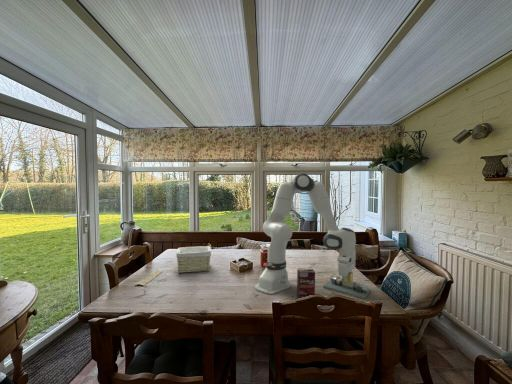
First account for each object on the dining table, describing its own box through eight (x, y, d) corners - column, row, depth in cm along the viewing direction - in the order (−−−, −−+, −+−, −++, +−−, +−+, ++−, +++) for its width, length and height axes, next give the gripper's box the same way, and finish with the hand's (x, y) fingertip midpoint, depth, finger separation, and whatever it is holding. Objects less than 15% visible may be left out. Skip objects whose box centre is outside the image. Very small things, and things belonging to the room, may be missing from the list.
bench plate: (364, 299, 125) (364, 297, 125) (323, 287, 139) (323, 285, 139) (370, 290, 135) (370, 289, 135) (331, 280, 149) (331, 279, 149)
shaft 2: (368, 291, 132) (368, 283, 132) (366, 294, 128) (366, 286, 128) (354, 287, 137) (354, 280, 137) (352, 290, 133) (352, 283, 133)
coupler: (342, 283, 137) (342, 271, 137) (344, 280, 140) (344, 269, 140) (350, 285, 134) (350, 273, 134) (352, 283, 137) (352, 271, 137)
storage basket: (210, 264, 181) (209, 245, 181) (211, 271, 166) (211, 250, 165) (177, 266, 175) (177, 247, 175) (176, 274, 159) (175, 253, 159)
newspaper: (143, 287, 141) (143, 284, 141) (132, 286, 142) (132, 283, 142) (162, 272, 164) (162, 270, 164) (153, 272, 165) (153, 270, 165)
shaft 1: (343, 285, 140) (343, 278, 140) (337, 286, 138) (338, 279, 138) (334, 280, 147) (334, 274, 147) (328, 282, 145) (328, 275, 145)
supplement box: (298, 302, 121) (299, 272, 121) (296, 298, 126) (296, 269, 125) (315, 302, 121) (315, 272, 121) (312, 297, 126) (312, 268, 126)
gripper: (347, 250, 147) (347, 272, 147) (336, 259, 131) (336, 283, 131) (358, 252, 143) (357, 275, 144) (347, 261, 127) (347, 286, 127)
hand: (347, 279), depth 137 cm, fingers closed on coupler, 4 cm apart
